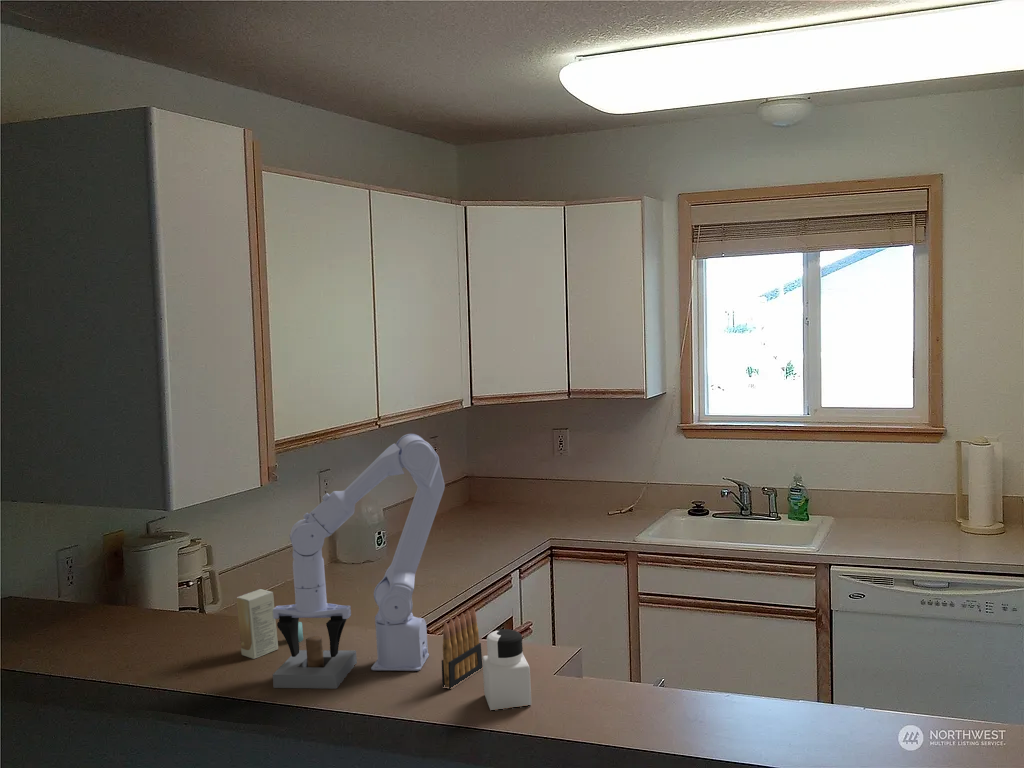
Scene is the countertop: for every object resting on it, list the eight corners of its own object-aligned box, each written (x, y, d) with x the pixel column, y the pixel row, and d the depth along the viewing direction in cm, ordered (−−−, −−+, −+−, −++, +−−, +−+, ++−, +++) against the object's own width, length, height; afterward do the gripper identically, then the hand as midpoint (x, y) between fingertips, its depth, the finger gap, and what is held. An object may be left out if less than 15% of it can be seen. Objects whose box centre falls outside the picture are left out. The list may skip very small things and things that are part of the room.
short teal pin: (305, 637, 200) (304, 621, 200) (300, 643, 197) (299, 626, 197) (291, 637, 200) (290, 621, 200) (286, 642, 197) (285, 626, 197)
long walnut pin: (326, 671, 181) (324, 636, 180) (321, 678, 178) (319, 641, 177) (311, 672, 181) (308, 636, 180) (306, 678, 178) (303, 642, 177)
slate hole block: (356, 663, 184) (355, 650, 184) (336, 688, 173) (335, 675, 172) (297, 662, 186) (296, 650, 186) (273, 687, 174) (272, 674, 174)
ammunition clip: (474, 667, 180) (471, 605, 178) (483, 668, 179) (479, 606, 177) (442, 688, 170) (438, 623, 169) (450, 690, 169) (446, 624, 168)
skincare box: (266, 645, 196) (261, 587, 195) (279, 649, 194) (274, 591, 193) (239, 655, 192) (235, 596, 190) (252, 660, 189) (248, 599, 188)
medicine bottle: (524, 689, 168) (520, 623, 167) (532, 706, 161) (528, 637, 160) (484, 694, 167) (480, 628, 166) (490, 711, 160) (486, 642, 159)
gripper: (354, 577, 181) (358, 647, 182) (281, 578, 183) (286, 646, 184) (342, 589, 174) (346, 661, 175) (266, 589, 176) (271, 660, 177)
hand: (314, 654), depth 179 cm, fingers open, 7 cm apart
